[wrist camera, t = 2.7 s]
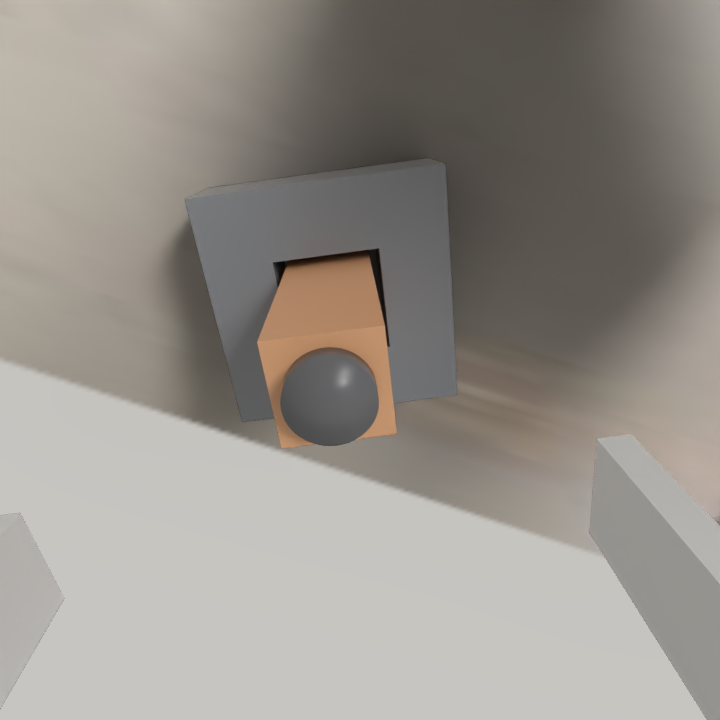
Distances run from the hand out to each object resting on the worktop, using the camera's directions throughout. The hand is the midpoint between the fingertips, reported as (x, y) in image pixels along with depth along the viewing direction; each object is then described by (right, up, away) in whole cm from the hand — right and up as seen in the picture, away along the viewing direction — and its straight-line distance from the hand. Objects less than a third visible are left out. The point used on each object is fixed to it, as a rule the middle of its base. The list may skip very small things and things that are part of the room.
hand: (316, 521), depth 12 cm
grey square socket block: (0, +9, +18) cm, 20 cm away
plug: (0, +8, +17) cm, 19 cm away
